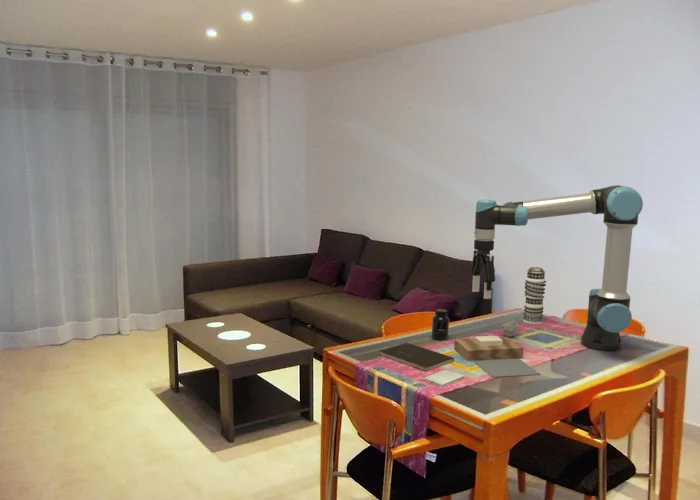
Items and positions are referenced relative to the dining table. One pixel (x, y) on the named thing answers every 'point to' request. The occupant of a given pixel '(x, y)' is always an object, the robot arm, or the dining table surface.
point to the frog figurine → (510, 328)
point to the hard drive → (444, 377)
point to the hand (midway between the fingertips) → (481, 295)
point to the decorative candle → (534, 295)
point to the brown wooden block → (488, 350)
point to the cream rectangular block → (488, 341)
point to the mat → (506, 368)
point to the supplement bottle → (440, 325)
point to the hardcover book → (416, 356)
